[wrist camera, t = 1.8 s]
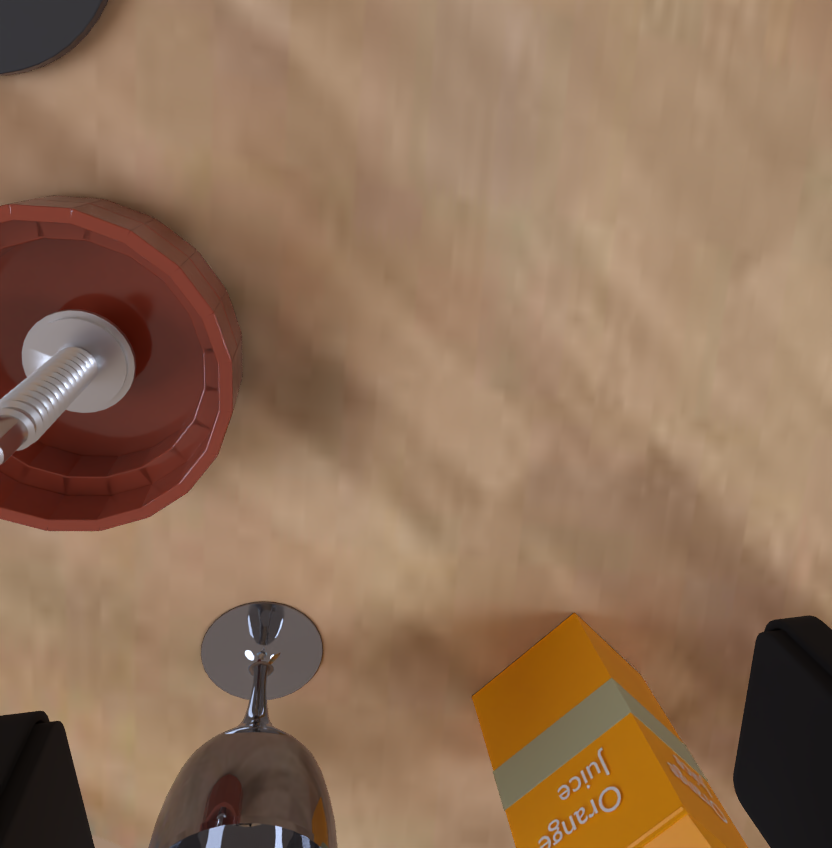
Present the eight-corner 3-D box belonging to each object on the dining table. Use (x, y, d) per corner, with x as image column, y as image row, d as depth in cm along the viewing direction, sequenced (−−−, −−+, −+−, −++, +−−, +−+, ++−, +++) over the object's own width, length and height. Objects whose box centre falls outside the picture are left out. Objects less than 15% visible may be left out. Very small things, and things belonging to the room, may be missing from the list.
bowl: (-126, 241, 32) (-207, 259, 27) (184, 161, 33) (161, 164, 28) (16, 510, 38) (-30, 567, 32) (279, 437, 38) (274, 483, 33)
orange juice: (469, 696, 46) (575, 1063, 28) (574, 610, 45) (758, 936, 26) (543, 755, 49) (684, 1125, 31) (643, 676, 48) (855, 1013, 29)
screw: (165, 355, 35) (94, 416, 36) (88, 279, 33) (15, 345, 34) (90, 465, 23) (-15, 554, 24) (-36, 355, 21) (-146, 455, 22)
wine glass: (237, 724, 44) (205, 987, 31) (167, 633, 41) (95, 879, 28) (352, 669, 44) (372, 909, 30) (289, 574, 41) (279, 792, 27)
